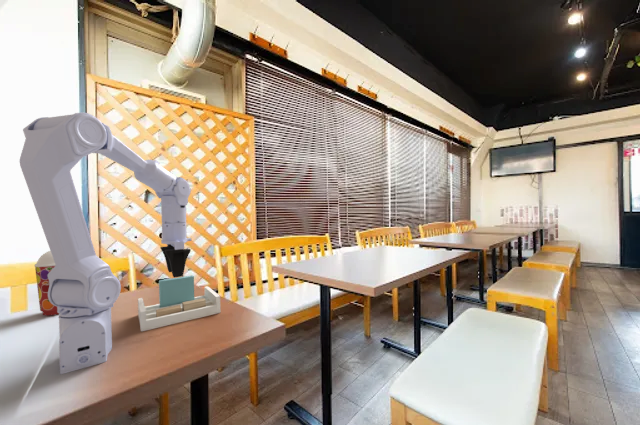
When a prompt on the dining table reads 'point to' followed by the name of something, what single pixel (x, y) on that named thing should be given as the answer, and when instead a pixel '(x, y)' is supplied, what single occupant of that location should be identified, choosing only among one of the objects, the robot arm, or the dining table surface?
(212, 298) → the rack
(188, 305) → the offcut
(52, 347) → the dining table surface
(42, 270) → the smoothie
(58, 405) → the dining table surface
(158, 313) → the offcut
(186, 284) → the teal square slab
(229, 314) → the dining table surface
